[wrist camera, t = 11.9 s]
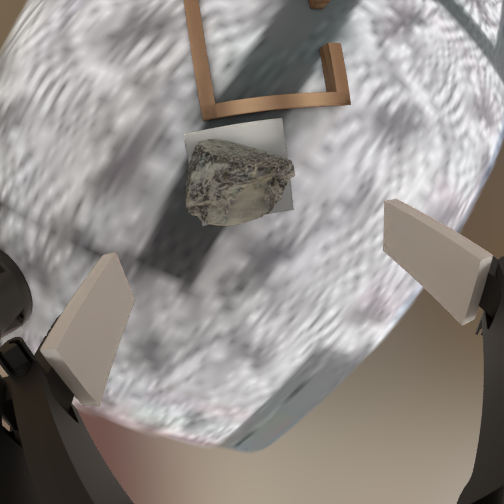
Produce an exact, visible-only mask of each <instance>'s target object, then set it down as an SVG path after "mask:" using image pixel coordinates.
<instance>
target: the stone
mask: <svg viewBox="0 0 504 504" xmlns="http://www.w3.org/2000/svg"><path fill="white" fill-rule="evenodd" d="M294 176H295V173H294V166H293V164H292V161H291V160H288V159H285V158H284V157H280V156H275V155H273V154H272V153H269V152H264V151H261V150H259V149H255V148H250V147H247V146H244V145H241V144H237V143H234V142H229V141H224V140H217V139H208V140H202V141H200V142H199V143H198V144H197V145H196V146H195V149H194V151H193V153H192V159H191V161H190V163H189V166H188V169H187V177H186V185H185V188H186V189H185V192H186V211H187V212H189V213H190V214H191V215H195V216H198V218H199V219H200V220H202V221H203V222H205V223H208V224H213V225H219V226H230V225H234V224H239V223H245V222H248V221H251V220H254V219H257V218H260V217H262V216H263V215H265V214H268V213H269V212H271V211H272V210H273V208H274V206H276V204H277V202H278V201H279V200H280V199H281V197H282V195H283V192H284V189H285V187H286V185H287V182H288V180H289V179H290V178H292V177H294Z"/></svg>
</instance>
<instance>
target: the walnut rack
mask: <svg viewBox="0 0 504 504" xmlns="http://www.w3.org/2000/svg"><path fill="white" fill-rule="evenodd" d="M308 1H309V5H310V8H313V9H322V8H323V7H324V6H326V5H327V4H328V3H329V2H330V0H308ZM184 6H185V13H186V20H187V27H188V33H189V40H190V46H191V53H192V59H193V65H194V72H195V78H196V84H197V90H198V96H199V102H200V107H201V113H202V119H203V121H208V120H213V119H218V118H224V117H230V116H236V115H242V114H249V113H257V112H265V111H273V110H283V109H293V108H306V107H323V106H343V105H351V102H350V94H349V87H348V81H347V75H346V69H345V63H344V58H343V52H342V47H341V43H327V44H326V45H324V46H323V47H321V48H320V49H319V50H320V55H321V60H322V66H323V72H324V78H325V84H326V90H327V92H315V93H297V94H284V95H273V96H264V97H255V98H248V99H241V100H234V101H228V102H222V103H216V104H215V100H214V94H213V88H212V82H211V76H210V70H209V64H208V58H207V52H206V46H205V39H204V33H203V27H202V21H201V14H200V8H199V2H198V0H184Z"/></svg>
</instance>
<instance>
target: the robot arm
mask: <svg viewBox="0 0 504 504" xmlns="http://www.w3.org/2000/svg"><path fill="white" fill-rule="evenodd" d="M383 251H384V252H385V253H386V254H387V255H389V256H390V257H391V258H392V259H393V260H394V261H395V262H397V263H398V264H399V265H400V266H401V267H402V268H403V269H404V270H405V271H407V272H408V273H409V274H410V275H411V276H412V277H413V278H414V279H415V280H416V281H417V282H419V283H420V284H421V285H422V286H423V287H424V288H425V289H426V290H427V291H428V292H429V293H430V294H431V295H432V296H433V297H434V298H435V299H436V300H437V301H438V302H439V303H440V304H441V305H443V307H444V308H445V309H446V310H447V311H449V313H450V314H451V315H452V316H453V317H454V318H455V319H456V320H457V321H458V322H459V323H460V324H461V325H464V324H466V323H468V322H470V321H472V320H474V319H475V316H476V313H477V310H478V307H479V306H480V307H481V308H482V309H483V310H484V311H483V314H482V317H481V320H480V322H479V325H478V327H477V330H476V334H477V335H478V333H479V330H480V329H481V328H482V333H481V335H483V349H484V392H483V408H482V419H481V428H480V435H479V442H478V448H477V454H476V459H475V464H474V469H473V473H472V476H471V478H470V480H469V482H468V483H467V485H466V486H465V488H464V489H463V491H462V493H461V495H460V497H459V499H458V502H457V504H504V256H503V257H501V258H500V259H499V260H498V259H496V258H495V257H494V256H493V255H491V254H490V253H489V252H487V251H486V250H484V249H482V248H481V247H480V246H478V245H476V244H475V243H473V242H472V241H470V240H469V239H467V238H465V237H464V236H462V235H461V234H459V233H457V232H456V231H454V230H452V229H451V228H449V227H447V226H445V225H444V224H442V223H440V222H438V221H437V220H435V219H433V218H431V217H430V216H428V215H426V214H424V213H422V212H420V211H419V210H417V209H415V208H413V207H411V206H409V205H407V204H405V203H403V202H401V201H399V200H397V199H393V200H386V201H384V239H383ZM134 302H135V298H134V296H133V293H132V291H131V289H130V286H129V284H128V281H127V279H126V276H125V274H124V271H123V268H122V266H121V263H120V260H119V258H118V255H117V252H113V253H109V254H105V255H103V256H102V257H101V258H100V260H99V261H98V262H97V264H96V265H95V266H94V268H93V269H92V270H91V272H90V273H89V274H88V276H87V277H86V279H85V280H84V281H83V283H82V284H81V286H80V287H79V288H78V290H77V291H76V293H75V294H74V296H73V297H72V299H71V300H70V302H69V303H68V305H67V306H66V308H65V309H64V311H63V312H62V314H61V315H60V316H59V317H58V318H57V319H56V320H55V322H54V323H53V325H52V326H51V329H50V330H49V331H48V333H47V336H45V338H44V339H43V341H42V343H41V344H40V346H39V348H38V350H37V351H36V353H35V355H33V354H32V352H31V351H30V349H29V348H28V346H27V345H26V343H25V342H24V340H23V339H22V338H21V337H14V338H12V339H10V340H8V341H7V342H6V343H4V344H3V345H2V346H1V348H0V365H1V366H2V368H3V369H4V370H5V371H6V373H7V374H8V375H9V376H8V377H4V378H2V377H1V375H0V504H134V503H133V502H132V500H130V498H129V496H128V495H127V494H126V492H125V491H124V490H123V488H122V487H121V485H120V484H119V483H118V481H117V480H116V478H115V477H114V475H113V474H112V472H111V470H110V469H109V467H108V466H107V464H106V463H105V461H104V459H103V458H102V456H101V454H100V453H99V451H98V449H97V447H96V446H95V444H94V442H93V440H92V438H91V437H90V435H89V433H88V431H87V429H86V427H85V425H84V423H83V421H82V419H81V417H80V415H79V413H78V411H77V409H76V408H75V406H74V405H73V404H72V400H73V397H74V396H75V397H76V398H77V399H78V400H79V402H80V403H81V404H82V405H83V406H100V404H101V400H102V397H103V393H104V390H105V386H106V383H107V380H108V376H109V373H110V370H111V367H112V364H113V361H114V358H115V355H116V352H117V349H118V346H119V343H120V340H121V337H122V334H123V331H124V329H125V326H126V323H127V321H128V318H129V315H130V313H131V310H132V307H133V305H134ZM31 310H32V300H31V295H30V291H29V288H28V285H27V283H26V281H25V279H24V277H23V275H22V273H21V272H20V270H19V269H18V267H17V266H16V264H15V263H14V262H13V261H12V260H11V259H10V258H9V257H8V256H7V255H6V254H5V253H4V252H2V251H1V250H0V339H1V338H3V337H4V336H6V335H8V334H9V333H11V332H13V331H14V330H16V329H18V328H19V327H21V326H22V325H23V324H24V323H25V322H26V320H27V319H28V317H29V316H30V314H31ZM2 419H3V420H4V421H5V422H6V423H7V424H8V425H9V426H10V432H9V431H8V430H7V429H6V428H5V427H3V426H2Z"/></svg>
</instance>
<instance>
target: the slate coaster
mask: <svg viewBox="0 0 504 504" xmlns="http://www.w3.org/2000/svg"><path fill="white" fill-rule="evenodd" d="M183 135H184V141H185V146H186V151H187V156H188V161H189V163H190V161H191V159H192V153H193V151H194V149H195V146H196V145H197V144H198V143H199V142H200V141H202V140H208V139H217V140H224V141H229V142H234V143H237V144H241V145H244V146H247V147H250V148H255V149H259V150H261V151H264V152H269V153H272V154H273V155H275V156H280V157H284V158H285V159H288V158H287V150H286V143H285V136H284V129H283V122H282V118H277V119H268V120H260V121H253V122H246V123H240V124H234V125H228V126H222V127H216V128H211V129H206V130H201V131H196V132H191V133H187V134H183ZM288 210H294V209H293V200H292V191H291V182H290V179H289V180H288V182H287V185H286V187H285V189H284V192H283V195H282V197H281V199H280V200H279V201H278V202H277V204H276V206H274V208H273V210H272V211H271V212H269V213H268V214H271V213H277V212H282V211H288ZM201 222H202V226H205V225H211V224H208V223H205V222H203V221H202V220H201Z"/></svg>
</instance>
